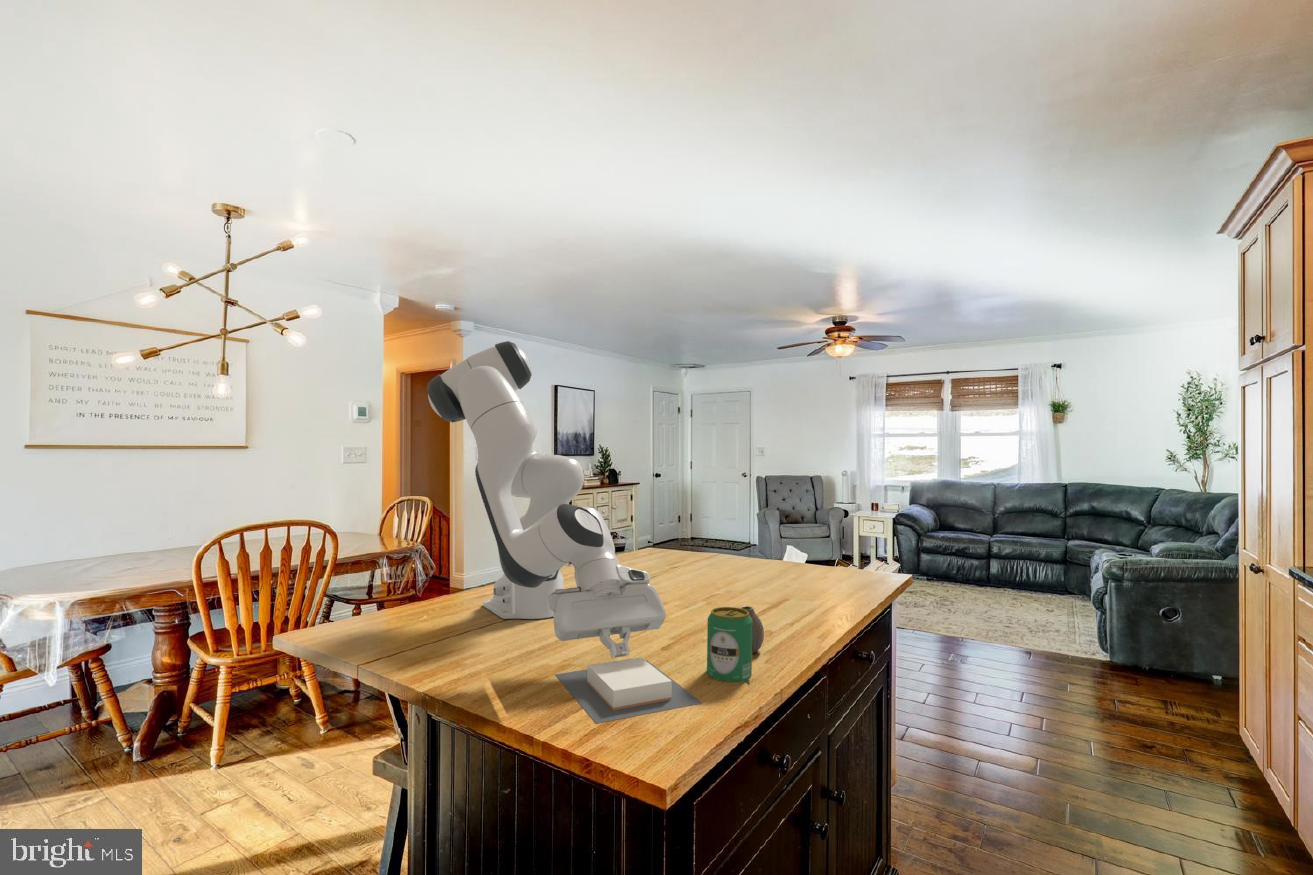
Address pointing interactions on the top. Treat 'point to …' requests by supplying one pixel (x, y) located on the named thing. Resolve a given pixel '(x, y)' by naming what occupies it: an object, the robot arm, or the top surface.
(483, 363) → the robot arm
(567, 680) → the mat
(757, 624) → the vase
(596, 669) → the tile
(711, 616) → the beverage can
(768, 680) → the top surface
